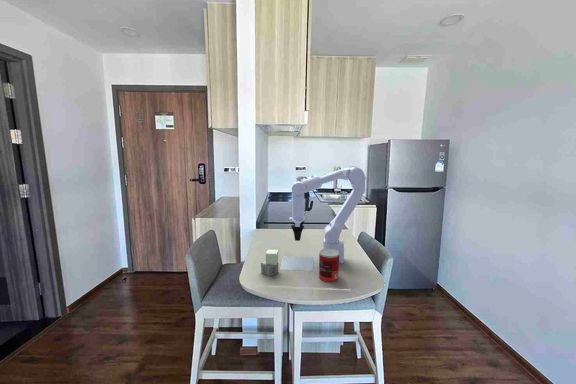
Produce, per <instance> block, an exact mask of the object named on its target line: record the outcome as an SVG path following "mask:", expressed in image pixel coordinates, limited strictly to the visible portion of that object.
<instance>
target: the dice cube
mask: <svg viewBox="0 0 576 384" xmlns="http://www.w3.org/2000/svg"><path fill="white" fill-rule="evenodd" d="M279 271H280V266H279V262H278V263H277V265H269V264H266V260H264V261H261V262H260V273H261V274H263V275H265V276H267V277H271V276H274V275H276V274H278V273H279Z"/></svg>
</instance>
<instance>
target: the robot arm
mask: <svg viewBox="0 0 576 384" xmlns="http://www.w3.org/2000/svg"><path fill="white" fill-rule="evenodd" d="M366 179H367V178H366V174H365V172H364V170H363V169H362V168H359V167H357V166H349V167H345V168H342V169H341V168H340V169H338V170H335V171H333V172H330V173H327V174H326V175H323V176H318V175H314V174H311V175H310V177H308V178H305V179H300V181H295V182H294V183H293V184H292V187H291V192H292V194H291V195H292V198H291V217H289V218H288V220H289V221H292V223H293V224H291V225H290V227H291V230H292V232H293V235H294V236H293V238H294V241H295V242H296V241H297V242H300V241H301V239H302V232H303V230H304V229H305V225H304V223H305V220H306V217H305V211H306V210H305V209H306V208H305V206H306V204H305V203H306V198H305V193H309V192H312V191H315V190H318V189H320V188H322V186H323V185H324V184H327V183H330V182H333V181H338V180H345V181H349V182H350V185H351V189H352V190H351V192H350V194H349V195H348V196H347V198H346V199H345V200H344V202H343V204H342V206H341V207H340V209H339V211H338V212H337V213H336V215H335V216H334V218H333V219H332V220H331V221H330V223H329V224H326V225H325V227H324V228H323V234H324V238H323V240H322V249H335V250H337V251H338V252H339V264H344V258H345V254H344V253H345V243H344V242H343V241H340V235H341V234H342V232H343V231H342V230H343V227H344V225H345V224H346V222H347V221H348V219H349V217H350V216H351V215H352V213H353V211H354V210H355V209H356V206H357V205H358V203H359V202H360V201H361V199H362V198H363V196H364V194H365V192H366Z"/></svg>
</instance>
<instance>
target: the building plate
mask: <svg viewBox="0 0 576 384" xmlns="http://www.w3.org/2000/svg"><path fill="white" fill-rule="evenodd" d="M280 270H281V271H284V270H285V271H305V272H306V271H309V272H314V257H311V256H291V255H289V256H286V255H285V256H284V255H283V256H282V259H281V262H280V266H279V271H280Z"/></svg>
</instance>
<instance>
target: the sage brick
mask: <svg viewBox="0 0 576 384" xmlns="http://www.w3.org/2000/svg"><path fill="white" fill-rule="evenodd" d="M265 261H266V264H269V265H277V263H278V264H279V249H267V250H266V252H265Z"/></svg>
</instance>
